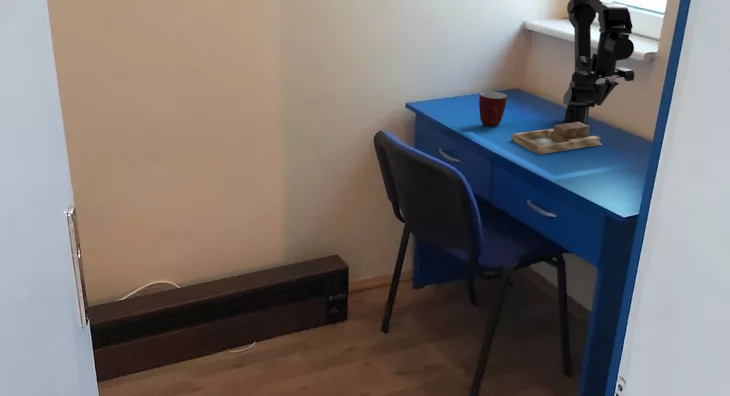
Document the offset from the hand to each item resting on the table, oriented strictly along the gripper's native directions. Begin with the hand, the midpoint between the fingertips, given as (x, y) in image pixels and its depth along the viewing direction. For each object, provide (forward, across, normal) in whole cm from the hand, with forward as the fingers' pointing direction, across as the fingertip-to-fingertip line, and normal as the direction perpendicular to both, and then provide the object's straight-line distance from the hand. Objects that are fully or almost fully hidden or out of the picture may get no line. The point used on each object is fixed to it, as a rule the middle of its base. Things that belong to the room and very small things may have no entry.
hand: (598, 105), depth 213 cm
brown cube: (+10, +7, 0) cm, 12 cm away
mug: (+11, +22, -20) cm, 32 cm away
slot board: (+11, +14, 0) cm, 17 cm away
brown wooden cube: (+10, +11, 0) cm, 15 cm away
